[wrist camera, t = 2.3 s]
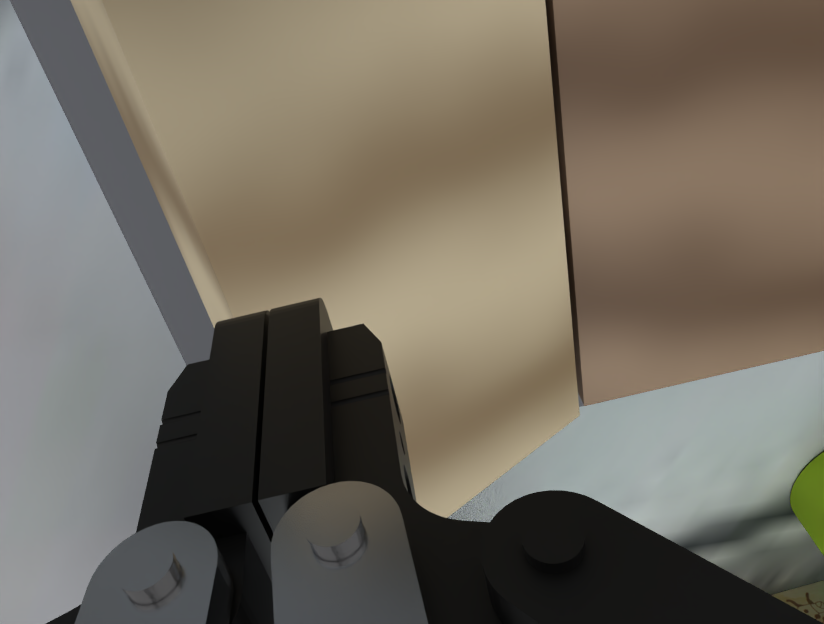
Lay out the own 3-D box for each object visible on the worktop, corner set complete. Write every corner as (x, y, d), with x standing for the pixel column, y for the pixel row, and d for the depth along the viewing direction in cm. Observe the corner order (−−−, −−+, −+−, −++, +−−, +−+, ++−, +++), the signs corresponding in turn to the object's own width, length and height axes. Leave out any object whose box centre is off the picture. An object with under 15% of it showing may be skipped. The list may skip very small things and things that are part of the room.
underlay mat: (-262, -587, 12) (-281, -600, 12) (1057, -909, 12) (1084, -934, 12) (245, 474, 27) (243, 484, 27) (834, 337, 27) (842, 345, 27)
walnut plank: (476, -591, 13) (502, -646, 11) (988, -715, 13) (1088, -788, 11) (566, 367, 26) (584, 406, 24) (823, 307, 26) (858, 342, 24)
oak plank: (-189, -591, 9) (-184, -687, 7) (410, -589, 12) (491, -654, 11) (311, 549, 22) (348, 594, 20) (534, 386, 25) (579, 415, 24)
